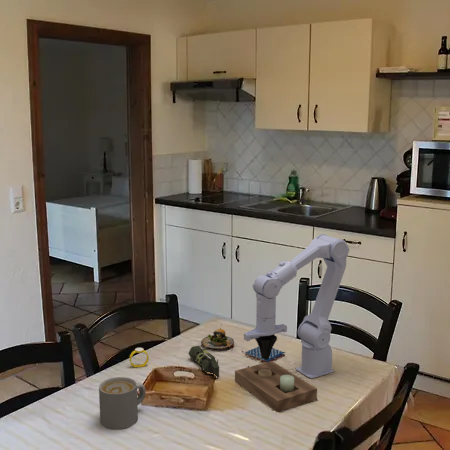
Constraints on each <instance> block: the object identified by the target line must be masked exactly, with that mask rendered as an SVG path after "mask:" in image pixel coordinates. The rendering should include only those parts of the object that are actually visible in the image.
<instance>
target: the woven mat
mask: <svg viewBox="0 0 450 450" xmlns="http://www.w3.org/2000/svg"><path fill="white" fill-rule="evenodd" d="M285 353H286V352H285V351H283V350H279V349H277V348H274V347H273V348H272V350H271V353H270V357H269V359H267V360H265V359H263V358H262V356H261V352H260V348H259V346H257V347H254V348H251V350H248V351H245V352H244V357H246V358H249V359H251V360H254V361H257V362H259V363H261V364H262V363H266V362H270V361H273V362H275V361H276V360H279V359H280V358H283V357H285V356H286V354H285Z"/></svg>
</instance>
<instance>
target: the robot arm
mask: <svg viewBox="0 0 450 450" xmlns="http://www.w3.org/2000/svg"><path fill="white" fill-rule="evenodd" d="M349 252H350V247H349V246H348V244H347V242H346V241H345V240H344V239H341V238H338V237H337V238H336V237H334V236H329V235H327V234H324V233H321V234H318V235H317V236H316V237H315V238H313V239H311V242H310V244H309V245H308V246H307V247H306V248H304V249H303V250H302V251H301V252H300V253H298V254H297V255H296V256H295V257H294V258H292V259H291V260H290V261H288V260H284V261H280V262H279V263H278V264H277V266H275V267H274V268H273V269H272V270H269V271H268V272H266V274H261V275H259V276H257V277H256V279H254V282H253V284H252V289H253V291H254V292H255V297H256V305H255V306H256V307H255V309H256V312H255V313H256V315H255V317H256V321H255V323H256V324H255V325H256V326H255V328H253V329H251V330H249V331H247V332H244V333H243V340H245V341H246V342H250V341H251V340H255V342H256V343H257V345H258V346H259V348H260V352H261V356H262V358H263V359H265V360H267V359H269V357H270V353H271V350H272V348H274V345H275V344H276V342H277V341H278V336H277V335H275V334H279V333H282V332H283V333H287V332H288V326H287V325H286V324H284V323H281V324H276V316H277V313H276V310H277V309H276V308H277V306H276V305H277V304H276V303H277V301H276V299H277V296H278V295H279V294H280V292H281V290H282V289H283V287H284V286H285V285H286V284H287V283H289V282H290V281H291V280H293V279H294V278H295V277H297V274H298V273H297V272H298V271H299V270H300V269H302V268H303V267H305V266H306V265H308V264H310V263H311V262H313V261H314V260H316V259H323V261H324V263H325V265H326V269H325V271H324V274H323V278H322V282H321V284H320V286H319V290H318V293H317V295H316V298H315V302H314V304H313V307H312V311H311V313H309V314H307V315H305V316H304V317H303V320H302V322H301V323H300V324H299V326H298V329H297V336H298V337H299V339H300V343H301V361H300V362H301V365H300V366H297V367H295V370H296V371H297V372H299V373H301V374H303V376H306V377H308V378H309V379H314V378H317V377H321V376H325V375H328V374H331V373H334V369H333V349H332V347H331V345H330V341H331V331H332V329H333V328H332V325H331V323H330V321H329V317H330V314H331V311H332V308H333V306H334V303H335V300H336V297H337V293H338V291H339V288H340V286H341V282H342V281H343V280H342V279H343V276H344V274H345V271H346V267H347V257H348V254H349ZM258 346H257V347H258Z"/></svg>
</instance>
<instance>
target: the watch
mask: <svg viewBox="0 0 450 450" xmlns="http://www.w3.org/2000/svg"><path fill="white" fill-rule="evenodd" d="M136 353H137V354H138V353H139V354H141V353H144V354H145V355H146V360H145V362H143V363H141V364H135V363H133V362H132V358H133V356H134V354H136ZM149 360H150V359H149V354H148V352H147V351H146V350H144V348H143V347H136V348H135V349H134V350H132V352H131V353H130V354H129V362H130V364H131V366H132V367H133V368H144V367H146V365H147V364H148V362H149Z"/></svg>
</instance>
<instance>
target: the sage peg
mask: <svg viewBox="0 0 450 450" xmlns="http://www.w3.org/2000/svg"><path fill="white" fill-rule="evenodd" d="M280 390H281V391H283V392H292V391H294V377H293V376H291V375H282V376H281V377H280Z"/></svg>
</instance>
